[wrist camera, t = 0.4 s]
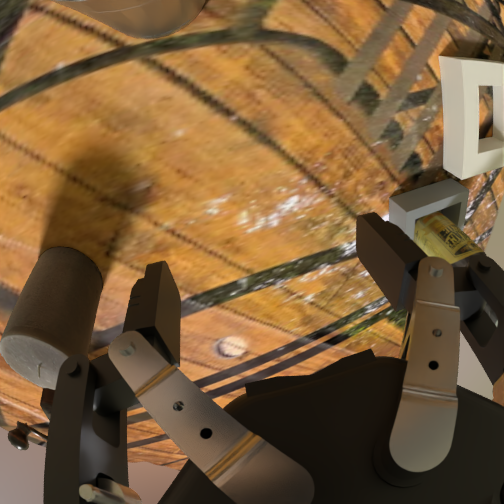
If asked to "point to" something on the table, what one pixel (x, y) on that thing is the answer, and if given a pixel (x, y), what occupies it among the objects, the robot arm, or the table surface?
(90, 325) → the pillar candle
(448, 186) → the frame
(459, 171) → the socket collar
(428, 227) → the sauce bottle
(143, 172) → the table surface
